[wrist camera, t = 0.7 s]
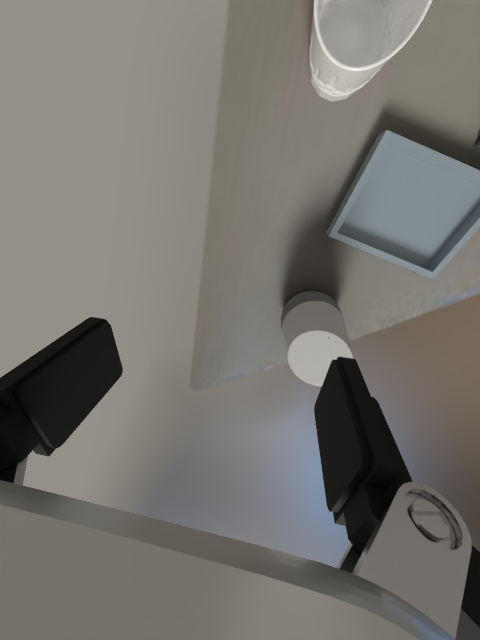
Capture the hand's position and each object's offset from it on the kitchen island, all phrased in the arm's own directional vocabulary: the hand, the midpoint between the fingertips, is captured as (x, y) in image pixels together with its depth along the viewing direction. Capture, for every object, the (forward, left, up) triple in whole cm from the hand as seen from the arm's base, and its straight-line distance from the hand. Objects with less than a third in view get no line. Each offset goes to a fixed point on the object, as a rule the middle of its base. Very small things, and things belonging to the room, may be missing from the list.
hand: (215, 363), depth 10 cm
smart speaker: (+9, +12, -29) cm, 32 cm away
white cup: (-19, +1, -29) cm, 35 cm away
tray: (-9, +16, -29) cm, 34 cm away
